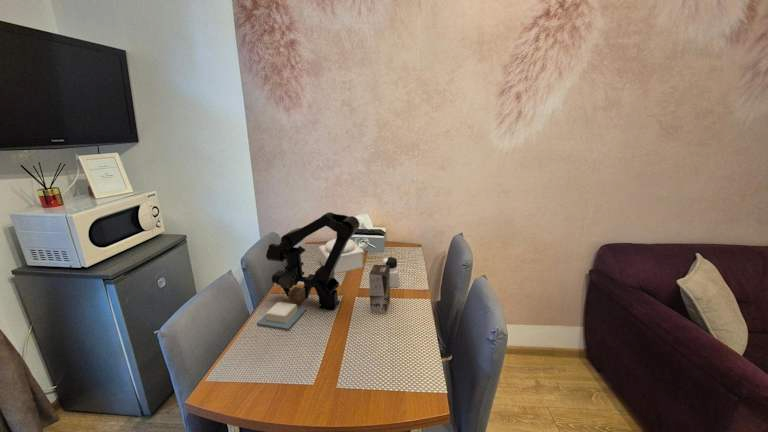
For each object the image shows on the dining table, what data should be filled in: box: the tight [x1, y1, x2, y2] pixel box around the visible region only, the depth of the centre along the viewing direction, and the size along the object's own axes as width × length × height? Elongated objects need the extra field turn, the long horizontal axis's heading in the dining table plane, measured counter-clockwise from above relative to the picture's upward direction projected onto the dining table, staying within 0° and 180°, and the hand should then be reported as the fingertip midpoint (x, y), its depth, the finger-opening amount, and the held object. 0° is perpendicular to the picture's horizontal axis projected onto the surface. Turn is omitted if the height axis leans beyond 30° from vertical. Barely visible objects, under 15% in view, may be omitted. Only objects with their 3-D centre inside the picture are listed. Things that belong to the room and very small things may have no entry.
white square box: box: [318, 236, 365, 275], centre depth 164 cm, size 18×18×16 cm
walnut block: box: [288, 286, 307, 306], centre depth 133 cm, size 5×5×5 cm
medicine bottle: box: [382, 256, 400, 288], centre depth 144 cm, size 7×7×12 cm
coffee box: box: [368, 264, 391, 315], centre depth 126 cm, size 9×6×16 cm
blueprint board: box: [256, 301, 308, 332], centre depth 122 cm, size 13×13×4 cm
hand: (297, 297), depth 133 cm, fingers open, 8 cm apart
